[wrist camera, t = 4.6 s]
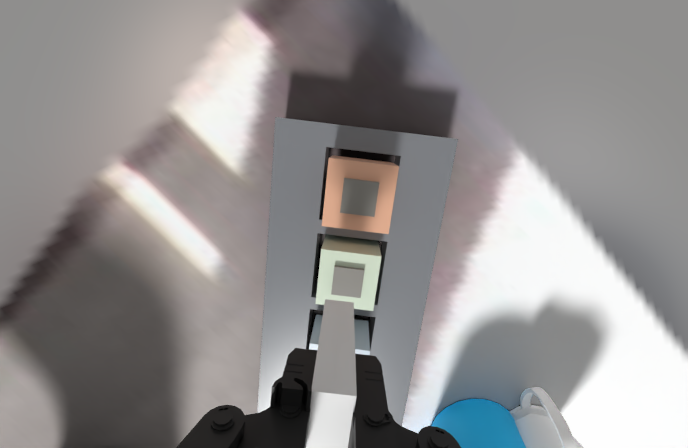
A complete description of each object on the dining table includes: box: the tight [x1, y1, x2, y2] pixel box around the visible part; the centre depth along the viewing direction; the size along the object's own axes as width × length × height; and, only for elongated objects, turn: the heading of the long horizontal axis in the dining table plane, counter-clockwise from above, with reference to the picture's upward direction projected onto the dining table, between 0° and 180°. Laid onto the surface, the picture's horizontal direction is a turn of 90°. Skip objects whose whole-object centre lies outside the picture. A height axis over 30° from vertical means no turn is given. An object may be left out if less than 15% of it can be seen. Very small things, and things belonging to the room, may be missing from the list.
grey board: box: [257, 117, 458, 426], centre depth 26 cm, size 12×26×3 cm, turn 173°
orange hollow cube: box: [322, 155, 399, 234], centre depth 20 cm, size 4×4×4 cm
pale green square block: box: [315, 234, 382, 311], centre depth 24 cm, size 4×4×4 cm
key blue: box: [309, 315, 370, 355], centre depth 23 cm, size 4×4×4 cm
